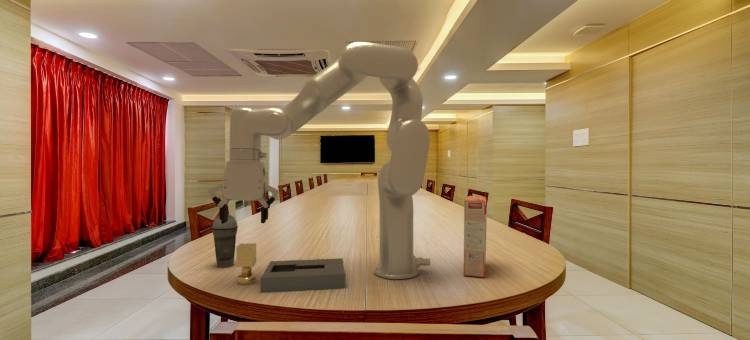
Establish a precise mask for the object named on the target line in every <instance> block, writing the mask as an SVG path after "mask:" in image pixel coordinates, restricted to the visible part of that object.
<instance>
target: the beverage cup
mask: <svg viewBox="0 0 750 340" xmlns="http://www.w3.org/2000/svg"><path fill="white" fill-rule="evenodd" d="M211 226H212V227H211V231H212V235H213V242H214V250H215V251H214V252H215V259H216V261H215V262H216V267H217V268H219V269H223V268H225V269H226V268H231V267H233V266H234V261H235V255H236V254H235V253H236V241H237V233H238V227H239V225H238V222H237V220H236V218H235V217H234V216H233V215H231V214H229V213H228V221H227V222H226V223H224V224H222V223H221V220H220V219H219V215H218V216H217V217H216V218H215V219H214V220H213V222H212V225H211Z"/></svg>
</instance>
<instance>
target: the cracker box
mask: <svg viewBox="0 0 750 340" xmlns="http://www.w3.org/2000/svg"><path fill="white" fill-rule="evenodd" d="M463 201H464V202H463V203H464V208H463V210H464V211H463V212H464V213H463V215H464V216H463V276H467V277H474V278H483V279H484V278H485V276H486V275H485V274H486V260H487V258H486V257H487V221H488V220H487V218H488V217H487V213H488V212H487V196H483V195H481V196H480V195H479V196H478V195H474V196H473V195H469V196H466V198H465V199H464V200H463Z"/></svg>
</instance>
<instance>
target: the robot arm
mask: <svg viewBox="0 0 750 340" xmlns="http://www.w3.org/2000/svg"><path fill="white" fill-rule="evenodd" d="M418 68H419V63H418V59H417V57H416V55H415V54H414V52H412V51H411V50H409V49H408V48H406V47H403V46H396V45H388V44H384V43H383V44H382V43H376V42H369V41H354V42H350V43H348V44H347V45H346V46H345V47H344V48H343V50H342V52H341V55H340V57H339V58H337V59H335V60H334V61H333V62H332V63H330V64H329V65H327V66H326V67H325V68H324V69H322V70H321V71H319V72H317V73H316V74H315V75H313V76H312V77H311V78H309V79H308V80H307V81H306V83H305V84H304V86H303V87H302V89H301V91H299V93H298V94H297V95H296V96H295V97H294V98H293V99H292V100H291V101H290V102H289V103H287V104H286V105H285V106H283V107H281V108H279V107H266V108H265V107H264V108H251V107H234V108H232V109H231V110H230V113H229V151H228V153H229V158H228V159H229V160H228V161H226V163H225V167H224V173H223V180H222V183H221V184H219V185H217V186H214V187H212V188H211V189H208V193H209V195H210V198H211V200H212V201H213V203H214V204H216V205H217V208H219V215H218V216H219V219H220V220H221V223H222V224H224V223H226V222H227V221H228V214H229V207H228V206H227V205H228V204H229V202H230V201H246V202H247V201H250V202H251V201H257V202H259V204H260V205H261V209H260V223H261V224H265V223H266V222H267V220H268V219H269V207H270V206H271V205H272V204H273V203H274V202H275V201H276V200H277V198H278V196H279V194H280V190H279V189H277V188H275V187H273V186H272V185H269V184H268V183H267V178H266V168H265V167H266V166H265V162H263V161H262V159H265V158H267V152H264V151H262V150H261V149H262V147H261V145H262V136H266V137H270V138H272V139H274V140H279V141H280V140H284V139H286V138H288V137H290V136H291V135H293V134H294V133H296V132H297V131H298V130H299V129H301V128H302V127H304V126H305V125H306V124H308V123H309V122H310V121H311V120H313V119H314V118H315V117H316V116H317V115H320V114H321V113H322V112H324V111H325V110H326V109H327V108H328V107H329V106H331V105H332V104H333V103H335V102H336V101H337V100H339V99H341V97H343V96H344V95H345V94H347V93H348V92H350V91H351V90H352V89H354V88H355V87H357V86H358V85H359V84H361V83H362V82H363V81H364V80H366V78H367V77H371V78H372V77H373V78H378V79H379V82H380V84H381V85H382V86H383V88H385V89H386V91H387V92H388V93H389V94H390V97H391V100H392V103H391V104H392V105H391V106H392V107H391V114H390V120H389V127H388V131H387V136H386V145H387V148H388V150H389V151H390V152H391V154H390V159H389V161H387V162H386V163H384V164H383V165H382V166H381V167H380V170H379V172H378V176H377V188H378V189H377V190H378V200H379V201H378V202H379V204H378V205H379V264H376V265H375V266H374V268H373V269H374V271H373V272H374V274H375V275H376V276H378V277H380V278H384V279H389V280H406V279H411V278H414V277H417V276H418V275H419V273H420V266H423V267H424V266H425V267H426V266H429V267H430V266H431V259H430V258H424V257H421V256H420V257H416V256H415V255H414V199H413V195H415V194H417V193H418V192H419V190H421V187H422V186H423V183H424V180H425V175H426V172H427V171H426V170H427V163H428V157H429V152H430V145H431V134H430V131H429V128H428V126H427V125H426V124H425V122H424V121H422V113H423V104H424V103H423V101H424V100H423V95H422V91H421V89H420V87H419V85H418V83H416V81H415V79H414V77H415V76H416V73H417V71H418ZM220 191H222V198H220V197H219V196H218V194H217V193H218V192H220ZM267 192H270V193H271V197H270V198H269V199H267V198H266V196H267Z"/></svg>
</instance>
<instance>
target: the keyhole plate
mask: <svg viewBox="0 0 750 340" xmlns="http://www.w3.org/2000/svg"><path fill="white" fill-rule="evenodd" d="M343 259H344V258H319V259H318V258H317V259H295V260H294V259H292V260H274V261H273V260H272V261H271V260H270V262H269V263H268V265H267V267H266V268H265V270H264V271H263V273H262V275H261V276H260V278H259V279H260V281H259V282H260V283H259V284H260V285H259V286H260V288H259V289H260V293H278V292H280V293H281V292H296V291H297V292H298V291H313V290H314V291H315V290H317V291H320V290H332V289H333V290H334V289H335V290H336V289H337V290H339V289H345V287H346V276H345V275H346V273H345V267H344V260H343Z"/></svg>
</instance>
